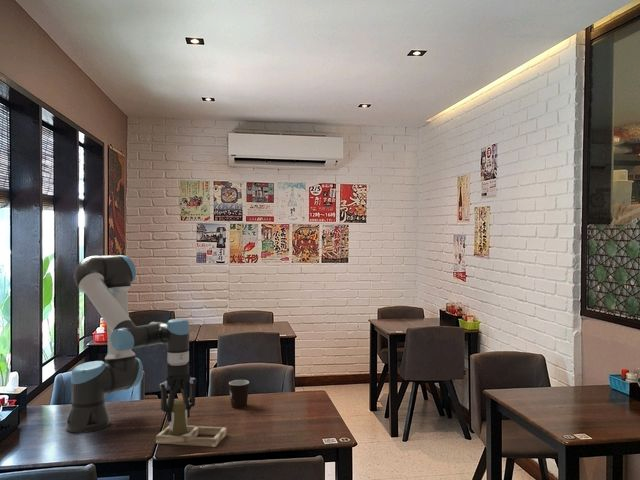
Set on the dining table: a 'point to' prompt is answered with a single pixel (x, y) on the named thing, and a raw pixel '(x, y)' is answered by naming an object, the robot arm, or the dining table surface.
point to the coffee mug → (239, 393)
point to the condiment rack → (193, 436)
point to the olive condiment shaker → (179, 419)
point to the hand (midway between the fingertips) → (178, 428)
